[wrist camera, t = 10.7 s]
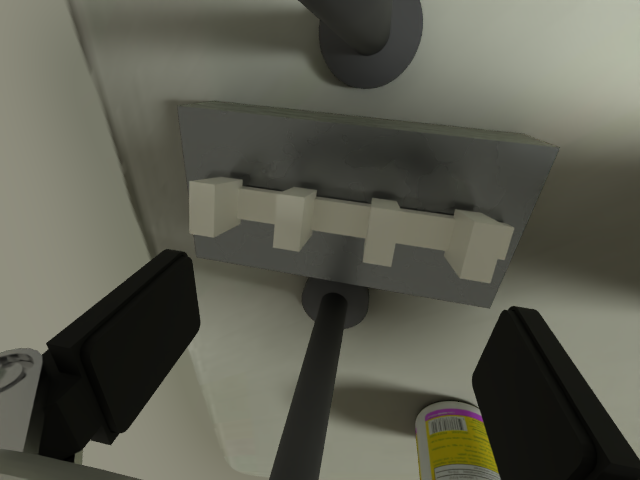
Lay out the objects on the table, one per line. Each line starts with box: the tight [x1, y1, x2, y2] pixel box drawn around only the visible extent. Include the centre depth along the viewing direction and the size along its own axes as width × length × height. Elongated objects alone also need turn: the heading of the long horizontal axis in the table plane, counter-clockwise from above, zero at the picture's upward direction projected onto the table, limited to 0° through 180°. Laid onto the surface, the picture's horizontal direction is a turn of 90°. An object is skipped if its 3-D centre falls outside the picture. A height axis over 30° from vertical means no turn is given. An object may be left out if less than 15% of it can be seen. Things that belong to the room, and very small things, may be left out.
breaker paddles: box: [189, 177, 514, 283], centre depth 15 cm, size 16×2×4 cm, turn 86°
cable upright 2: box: [269, 277, 369, 480], centre depth 14 cm, size 5×5×23 cm
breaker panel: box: [177, 101, 560, 308], centre depth 18 cm, size 18×9×4 cm, turn 86°
